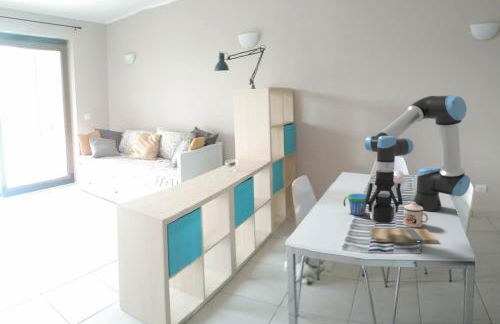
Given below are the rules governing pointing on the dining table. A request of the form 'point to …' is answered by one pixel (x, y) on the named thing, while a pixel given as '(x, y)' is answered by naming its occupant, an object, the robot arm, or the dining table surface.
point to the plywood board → (402, 235)
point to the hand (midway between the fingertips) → (382, 218)
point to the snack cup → (357, 203)
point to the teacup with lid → (413, 215)
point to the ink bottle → (383, 209)
